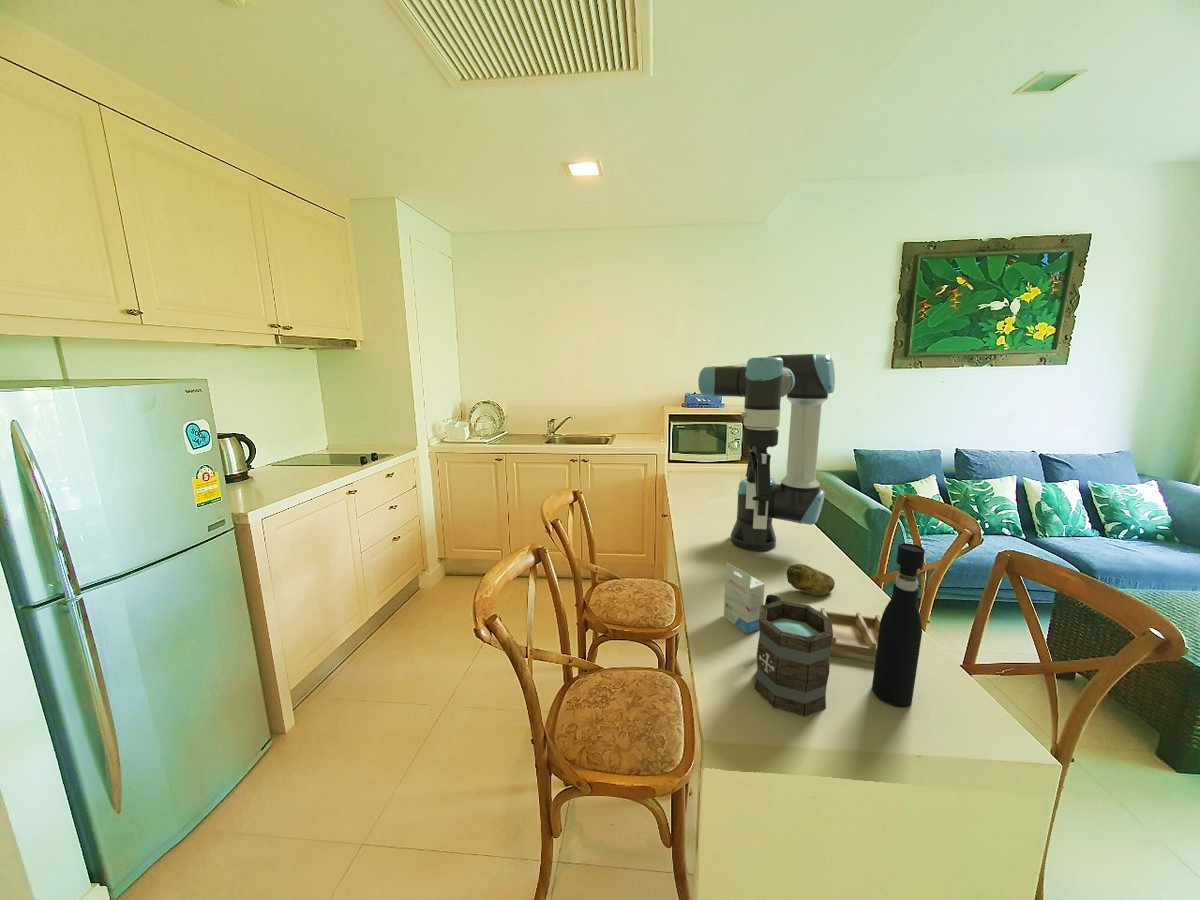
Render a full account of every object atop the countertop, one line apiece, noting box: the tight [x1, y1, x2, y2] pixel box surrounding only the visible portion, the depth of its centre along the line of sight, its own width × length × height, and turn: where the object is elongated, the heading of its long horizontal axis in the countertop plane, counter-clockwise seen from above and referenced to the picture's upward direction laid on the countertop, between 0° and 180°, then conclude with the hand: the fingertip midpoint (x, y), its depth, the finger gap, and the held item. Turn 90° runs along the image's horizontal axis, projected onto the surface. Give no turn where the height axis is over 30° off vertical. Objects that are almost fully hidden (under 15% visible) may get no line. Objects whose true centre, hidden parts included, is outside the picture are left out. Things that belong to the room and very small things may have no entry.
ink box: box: [723, 561, 766, 634], centre depth 105 cm, size 8×5×15 cm, turn 26°
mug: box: [754, 593, 833, 718], centre depth 86 cm, size 20×14×15 cm
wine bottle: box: [871, 542, 926, 708], centre depth 80 cm, size 6×6×30 cm
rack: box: [816, 607, 882, 663], centre depth 99 cm, size 13×20×4 cm, turn 74°
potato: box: [786, 563, 836, 597], centre depth 119 cm, size 8×13×8 cm, turn 76°
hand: (755, 517), depth 101 cm, fingers open, 13 cm apart
